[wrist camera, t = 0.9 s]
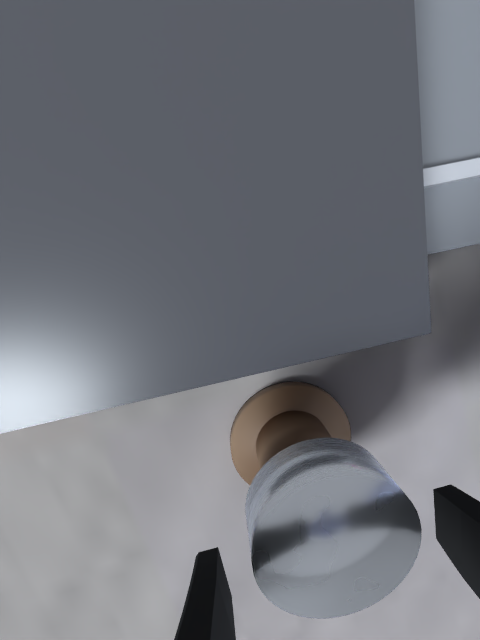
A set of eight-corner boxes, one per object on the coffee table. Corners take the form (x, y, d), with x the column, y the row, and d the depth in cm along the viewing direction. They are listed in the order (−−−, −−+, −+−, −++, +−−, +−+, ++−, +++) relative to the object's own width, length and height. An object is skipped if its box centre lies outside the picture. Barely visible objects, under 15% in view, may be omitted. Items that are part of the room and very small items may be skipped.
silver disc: (380, 421, 10) (415, 456, 8) (392, 540, 11) (425, 592, 9) (231, 458, 10) (235, 502, 8) (260, 576, 11) (269, 636, 9)
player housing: (288, -224, 9) (374, -775, 4) (350, 306, 13) (431, 333, 8) (-160, -170, 8) (-666, -755, 4) (49, 373, 12) (-55, 446, 8)
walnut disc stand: (337, 369, 14) (387, 412, 10) (351, 471, 15) (399, 544, 11) (218, 397, 13) (221, 453, 10) (243, 499, 15) (254, 584, 11)
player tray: (567, -272, 9) (768, -574, 6) (545, 257, 13) (659, 256, 10) (161, -224, 8) (128, -535, 5) (264, 320, 12) (283, 342, 9)
